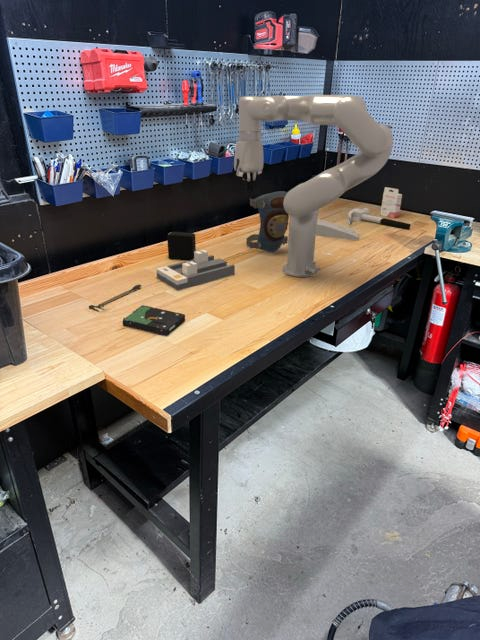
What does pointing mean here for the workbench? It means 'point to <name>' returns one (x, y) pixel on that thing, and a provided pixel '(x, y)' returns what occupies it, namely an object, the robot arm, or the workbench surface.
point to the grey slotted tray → (204, 274)
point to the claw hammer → (374, 219)
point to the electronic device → (181, 246)
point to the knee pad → (270, 222)
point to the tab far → (200, 256)
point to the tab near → (189, 268)
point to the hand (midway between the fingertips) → (249, 191)
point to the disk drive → (154, 320)
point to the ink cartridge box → (391, 203)
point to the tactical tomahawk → (114, 298)
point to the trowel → (335, 230)
